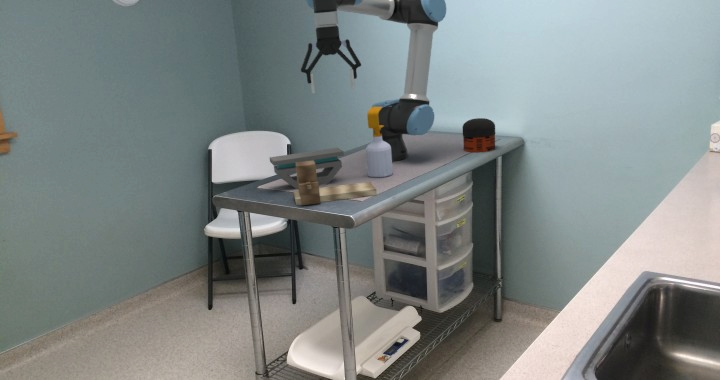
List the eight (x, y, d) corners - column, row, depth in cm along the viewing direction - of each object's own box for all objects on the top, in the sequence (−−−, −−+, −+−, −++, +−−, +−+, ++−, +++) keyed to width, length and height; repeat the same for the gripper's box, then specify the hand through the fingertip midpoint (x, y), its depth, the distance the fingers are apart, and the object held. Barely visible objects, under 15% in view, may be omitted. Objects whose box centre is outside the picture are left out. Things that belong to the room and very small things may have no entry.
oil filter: (488, 153, 245) (500, 146, 255) (487, 122, 242) (499, 116, 252) (458, 152, 252) (470, 145, 262) (457, 122, 249) (469, 116, 259)
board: (371, 187, 210) (370, 181, 209) (376, 194, 200) (376, 189, 199) (294, 197, 206) (293, 191, 205) (296, 205, 196) (295, 199, 196)
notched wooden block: (317, 194, 205) (313, 160, 202) (320, 203, 195) (317, 167, 192) (299, 197, 204) (295, 162, 201) (301, 205, 194) (297, 169, 191)
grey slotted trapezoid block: (277, 192, 214) (273, 161, 211) (273, 187, 221) (269, 157, 218) (346, 181, 221) (343, 151, 218) (340, 176, 228) (337, 147, 225)
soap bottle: (396, 171, 228) (391, 105, 221) (387, 178, 220) (381, 109, 213) (374, 171, 232) (369, 105, 225) (364, 177, 224) (358, 109, 217)
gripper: (362, 22, 209) (367, 86, 215) (288, 29, 205) (295, 93, 211) (366, 22, 202) (371, 88, 207) (289, 29, 198) (297, 96, 204)
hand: (333, 91), depth 209 cm, fingers open, 13 cm apart
